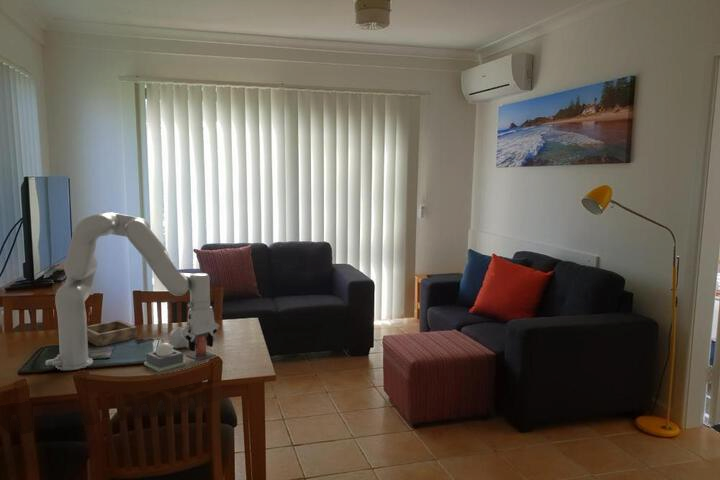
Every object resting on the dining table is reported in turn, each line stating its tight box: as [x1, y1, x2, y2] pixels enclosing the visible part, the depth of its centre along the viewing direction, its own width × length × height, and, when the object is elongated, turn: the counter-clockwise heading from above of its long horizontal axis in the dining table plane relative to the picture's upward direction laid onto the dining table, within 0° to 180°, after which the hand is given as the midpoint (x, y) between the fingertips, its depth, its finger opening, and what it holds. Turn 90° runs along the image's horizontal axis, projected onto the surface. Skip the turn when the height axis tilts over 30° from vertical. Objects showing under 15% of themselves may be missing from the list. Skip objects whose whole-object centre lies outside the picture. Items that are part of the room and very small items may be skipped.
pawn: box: [195, 334, 207, 357], centre depth 219 cm, size 4×4×8 cm
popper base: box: [143, 348, 187, 373], centre depth 209 cm, size 11×11×4 cm
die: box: [168, 326, 189, 349], centre depth 229 cm, size 8×9×10 cm
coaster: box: [186, 350, 216, 361], centre depth 219 cm, size 8×8×1 cm
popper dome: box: [155, 342, 173, 357], centre depth 208 cm, size 6×6×6 cm
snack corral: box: [87, 319, 138, 347], centre depth 241 cm, size 17×17×5 cm
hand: (201, 347), depth 219 cm, fingers open, 7 cm apart
